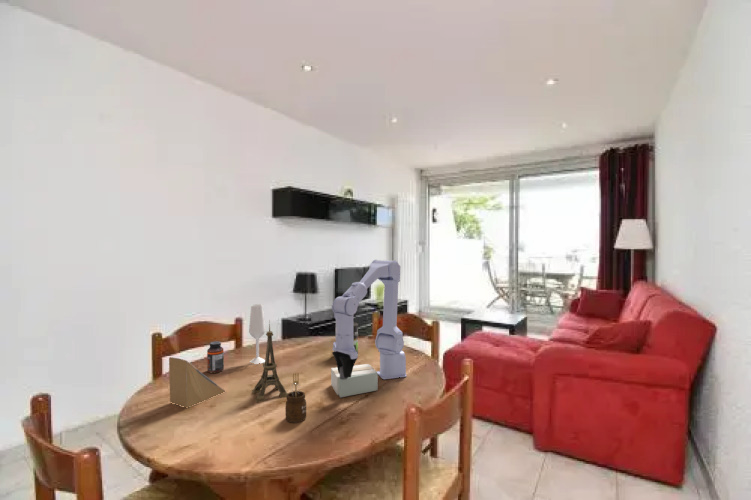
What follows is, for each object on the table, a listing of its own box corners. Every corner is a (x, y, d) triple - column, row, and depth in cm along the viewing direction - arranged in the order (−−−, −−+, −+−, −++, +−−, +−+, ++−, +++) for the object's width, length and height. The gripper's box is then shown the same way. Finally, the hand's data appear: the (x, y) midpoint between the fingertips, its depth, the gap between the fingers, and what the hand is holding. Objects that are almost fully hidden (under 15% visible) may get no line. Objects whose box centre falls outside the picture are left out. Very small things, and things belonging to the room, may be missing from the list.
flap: (375, 388, 132) (375, 361, 131) (378, 391, 129) (378, 363, 129) (338, 395, 126) (338, 366, 125) (341, 398, 123) (341, 369, 123)
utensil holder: (285, 424, 107) (284, 381, 107) (285, 414, 113) (285, 373, 113) (306, 422, 108) (306, 380, 108) (306, 412, 114) (306, 372, 114)
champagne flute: (260, 358, 167) (260, 303, 167) (268, 361, 163) (268, 305, 162) (246, 361, 162) (245, 305, 162) (254, 365, 158) (253, 307, 157)
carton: (368, 380, 140) (368, 363, 140) (377, 389, 131) (377, 371, 131) (331, 384, 136) (330, 367, 136) (337, 395, 127) (337, 376, 127)
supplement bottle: (205, 370, 151) (205, 342, 151) (221, 367, 155) (221, 339, 155) (209, 374, 147) (209, 345, 146) (225, 371, 150) (225, 342, 150)
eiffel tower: (256, 402, 121) (255, 324, 121) (251, 390, 131) (251, 318, 130) (289, 396, 126) (288, 321, 125) (282, 385, 135) (282, 315, 135)
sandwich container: (227, 391, 130) (227, 348, 130) (187, 409, 117) (186, 360, 116) (210, 387, 134) (210, 345, 134) (169, 404, 121) (168, 356, 120)
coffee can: (358, 352, 176) (358, 321, 176) (357, 359, 166) (357, 326, 165) (336, 352, 176) (336, 321, 176) (333, 358, 166) (333, 326, 165)
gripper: (324, 330, 129) (324, 370, 129) (342, 340, 116) (342, 384, 116) (343, 328, 132) (344, 367, 132) (363, 337, 119) (363, 380, 120)
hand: (344, 375), depth 125 cm, fingers open, 4 cm apart
